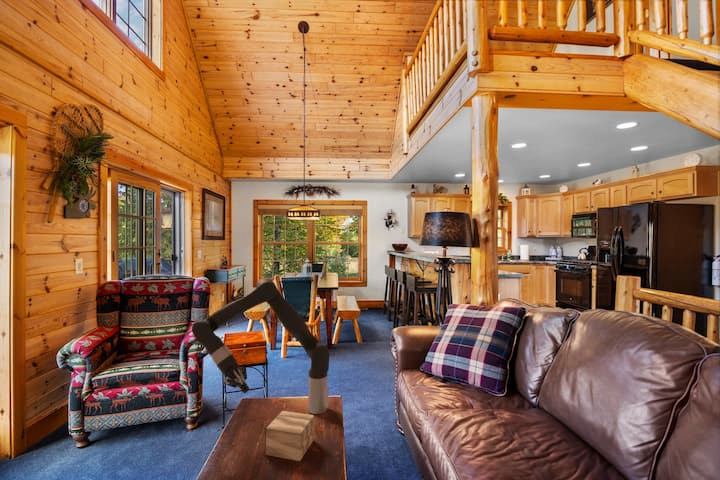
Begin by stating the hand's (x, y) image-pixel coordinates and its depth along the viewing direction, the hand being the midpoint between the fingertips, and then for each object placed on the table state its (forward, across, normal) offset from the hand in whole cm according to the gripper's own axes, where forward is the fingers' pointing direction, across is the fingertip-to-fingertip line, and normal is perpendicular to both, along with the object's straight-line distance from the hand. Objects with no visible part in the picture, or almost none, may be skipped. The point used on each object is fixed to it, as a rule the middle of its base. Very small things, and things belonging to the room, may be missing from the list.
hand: (247, 391), depth 144 cm
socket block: (+28, -3, -4) cm, 29 cm away
